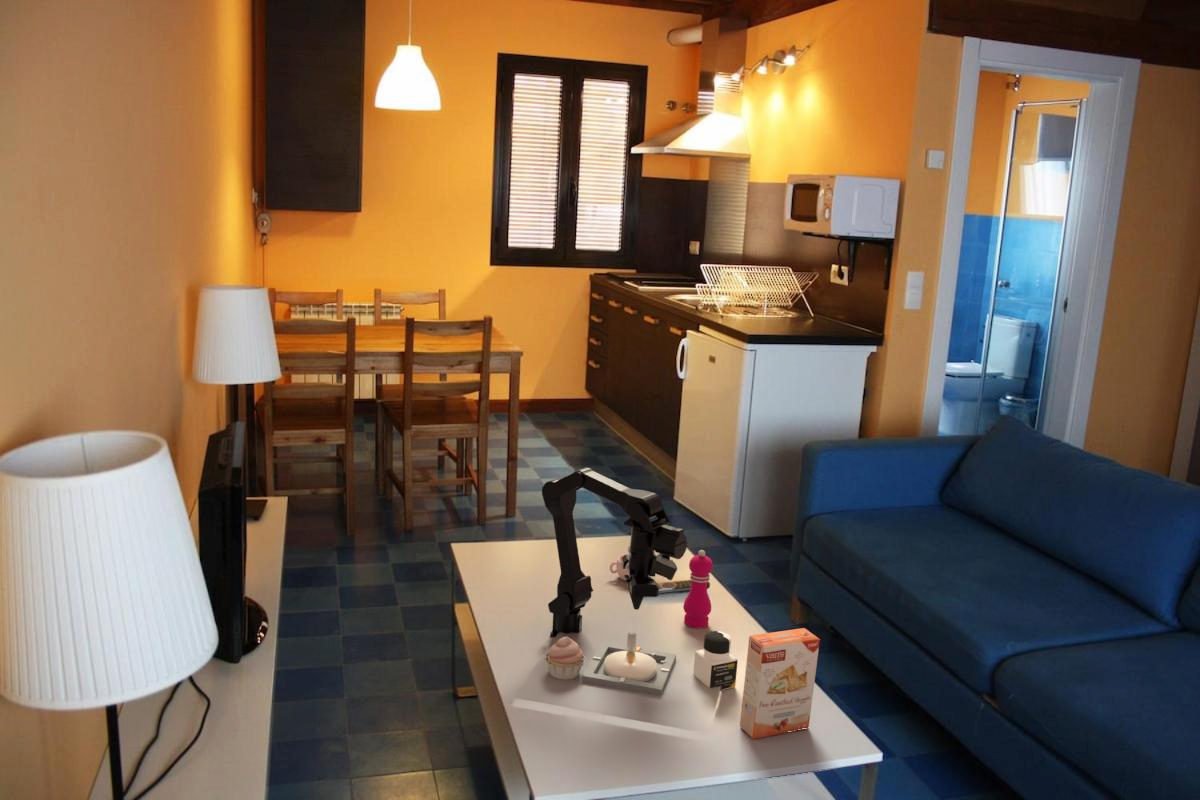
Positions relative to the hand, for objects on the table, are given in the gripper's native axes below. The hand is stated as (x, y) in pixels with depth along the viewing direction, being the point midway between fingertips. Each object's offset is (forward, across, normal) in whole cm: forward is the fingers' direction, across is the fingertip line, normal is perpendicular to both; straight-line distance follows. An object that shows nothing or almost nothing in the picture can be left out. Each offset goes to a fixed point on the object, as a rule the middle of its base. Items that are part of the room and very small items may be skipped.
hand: (636, 608), depth 234 cm
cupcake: (+13, -10, +17) cm, 23 cm away
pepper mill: (+13, +19, -20) cm, 30 cm away
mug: (+14, +49, -6) cm, 51 cm away
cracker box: (+12, -32, -26) cm, 43 cm away
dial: (+11, -9, +2) cm, 14 cm away
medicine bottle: (+12, -13, -17) cm, 25 cm away
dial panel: (+12, -9, +2) cm, 15 cm away
